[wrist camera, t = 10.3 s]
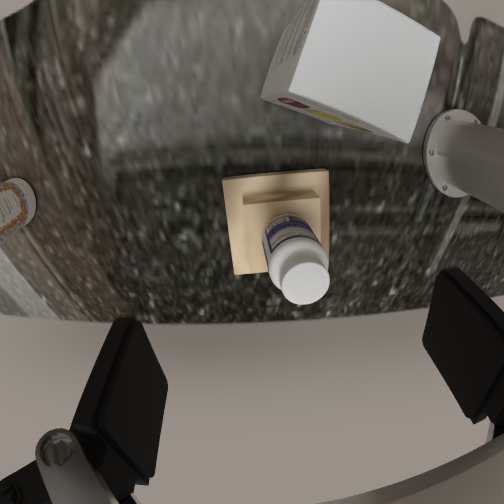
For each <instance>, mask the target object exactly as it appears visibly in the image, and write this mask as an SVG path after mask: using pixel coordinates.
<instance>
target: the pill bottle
mask: <svg viewBox="0 0 504 504" xmlns="http://www.w3.org/2000/svg"><path fill="white" fill-rule="evenodd" d="M262 245H263V250H264V254H265V258H266V262H267V267H268V271H269V275H270V277H271V280H272V281H273V283H274V284H275V285H276V286H277V287H278V288H279V289H281V290H282V292H283V294H284V296H285V297H286V298H287V299H288V300H289V301H291V302H293V303H295V304H301V305H302V304H310V303H313V302H315V301H317V300H318V299H320V298H321V297H322V296H323V295H324V294H325V293H326V291H327V289H328V287H329V283H330V278H329V274H328V272H327V271H328V257H327V254H326V252H325V250H324V248H323V247H322V245H321V243H320V242H319V240H318V239H317V237H316V236H315V234H314V232H313V231H312V229H311V228H310V226H309V225H308V223H307V222H306V221H305V220H304V219H302V218H301V217H299V216H296V215H293V214H283V215H280V216H277V217H275V218H273V219H272V220H271V221H270V222H269V223H268V224H267V225H266V227H265V228H264V231H263V234H262Z"/></svg>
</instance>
